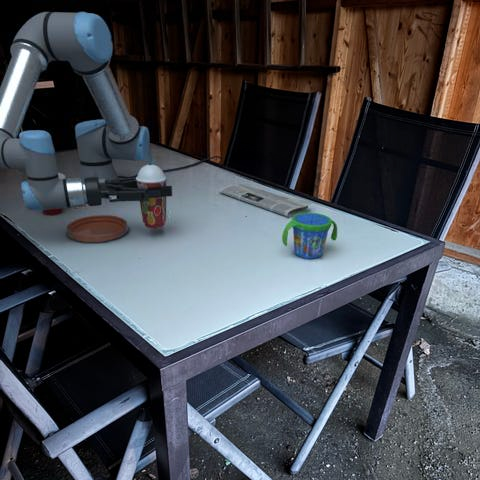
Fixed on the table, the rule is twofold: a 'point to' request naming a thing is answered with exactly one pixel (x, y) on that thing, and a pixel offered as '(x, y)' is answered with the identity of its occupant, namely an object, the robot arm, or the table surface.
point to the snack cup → (309, 233)
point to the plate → (97, 228)
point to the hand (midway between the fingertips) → (168, 186)
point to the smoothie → (155, 206)
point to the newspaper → (266, 199)
